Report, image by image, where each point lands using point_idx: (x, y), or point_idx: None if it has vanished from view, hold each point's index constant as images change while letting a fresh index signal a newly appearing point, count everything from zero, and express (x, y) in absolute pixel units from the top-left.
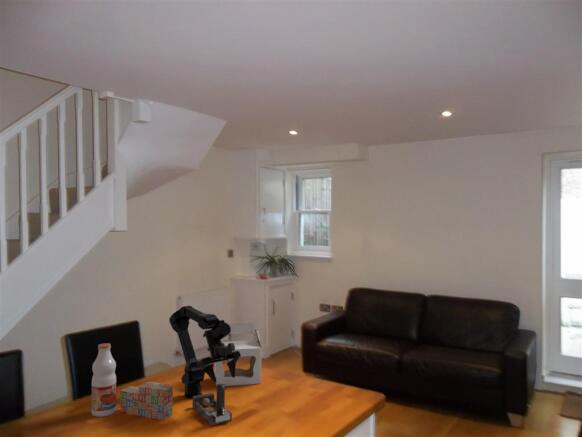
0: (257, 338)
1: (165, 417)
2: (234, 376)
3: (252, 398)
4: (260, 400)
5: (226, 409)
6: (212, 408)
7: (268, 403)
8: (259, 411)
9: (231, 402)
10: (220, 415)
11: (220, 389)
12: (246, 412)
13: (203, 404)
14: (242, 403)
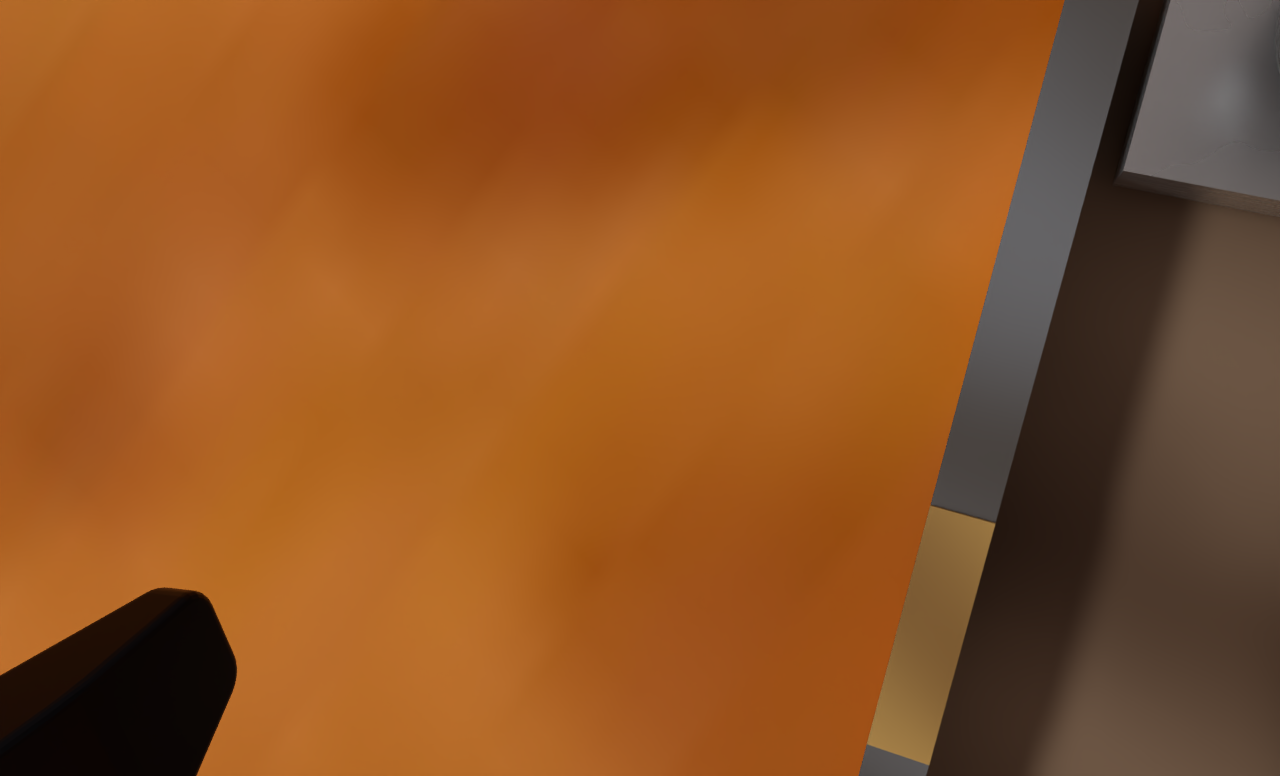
0: None
1: None
2: (168, 591)
3: (91, 604)
4: (49, 420)
5: (1033, 220)
6: (1053, 759)
7: (32, 203)
8: (353, 4)
9: (472, 769)
10: None
11: None
12: (561, 138)
13: None
14: (351, 561)
